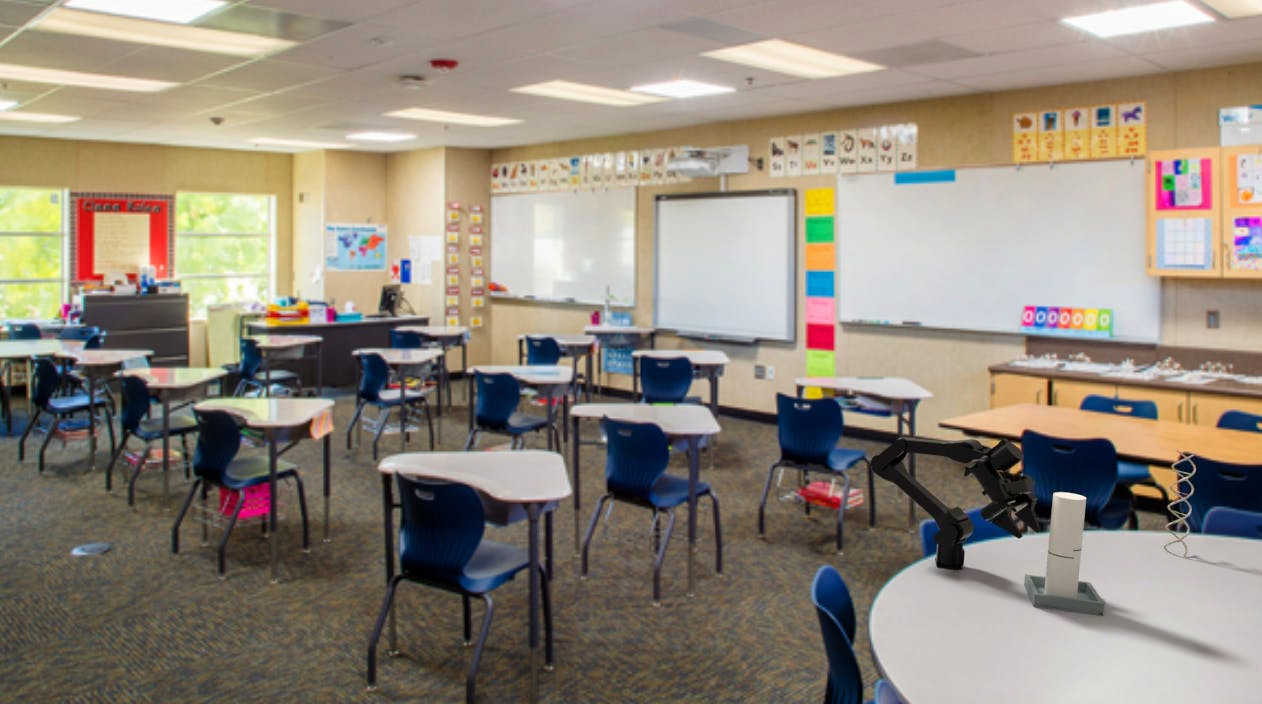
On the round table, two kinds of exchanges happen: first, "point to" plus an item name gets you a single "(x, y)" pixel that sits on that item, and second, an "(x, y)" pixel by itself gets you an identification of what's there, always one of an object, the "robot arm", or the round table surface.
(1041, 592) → the tray
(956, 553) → the robot arm
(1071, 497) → the cylindrical container
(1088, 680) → the round table surface
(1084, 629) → the round table surface
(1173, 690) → the round table surface
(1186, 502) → the dna model
